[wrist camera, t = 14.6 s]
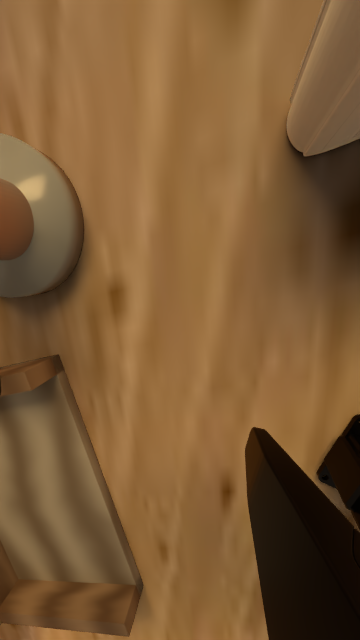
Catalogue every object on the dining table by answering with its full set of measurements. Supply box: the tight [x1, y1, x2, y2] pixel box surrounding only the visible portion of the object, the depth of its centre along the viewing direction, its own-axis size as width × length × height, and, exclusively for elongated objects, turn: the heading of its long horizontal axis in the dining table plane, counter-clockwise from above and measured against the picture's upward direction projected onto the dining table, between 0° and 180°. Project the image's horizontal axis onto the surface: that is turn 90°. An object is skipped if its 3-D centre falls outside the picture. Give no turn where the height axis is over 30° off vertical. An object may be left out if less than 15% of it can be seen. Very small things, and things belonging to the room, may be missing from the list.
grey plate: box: [0, 133, 84, 298], centre depth 20 cm, size 12×12×2 cm
